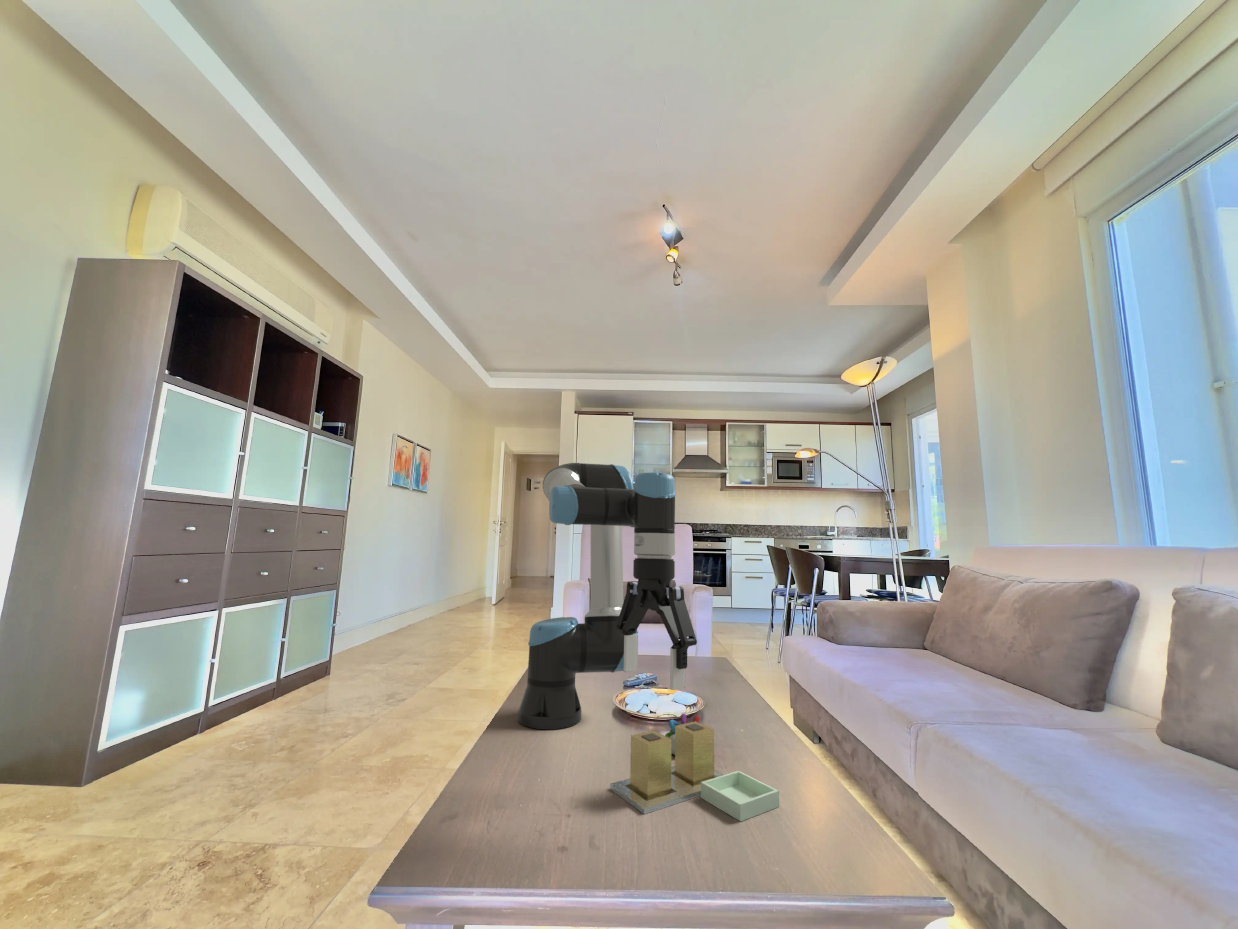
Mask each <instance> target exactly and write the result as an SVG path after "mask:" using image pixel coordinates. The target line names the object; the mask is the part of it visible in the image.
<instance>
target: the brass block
mask: <svg viewBox="0 0 1238 929" xmlns="http://www.w3.org/2000/svg"><path fill="white" fill-rule="evenodd" d="M671 767H672V753H671V739H670V738H668V737H666V736H665V735H663V733H662V734H661V733H660V732H657V731H656V730H651V731H645V732H641V733H636V734H631V735H630V768H629V769H630V773H629V774H630V775H629V776H630V777H629V779H630V790H632V791H633V792H635V793H636V794H637V795H639V796H640V797H642V798H643V799H644V800H646V801H648V800H651V799H655V798H658V797H661V796H664V795H668V794H671Z"/></svg>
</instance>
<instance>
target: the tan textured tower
mask: <svg viewBox="0 0 1238 929" xmlns="http://www.w3.org/2000/svg"><path fill="white" fill-rule="evenodd" d="M707 726H708V725H705V724H702V723H700V722H696V721H695V722H692V721H691V722H688V723H686V724H681V723H680V725H677V726H675V755H674V756H675V757H674V766H675V776H676V777H678V778H679V779H681V780H683V781H684V782H686V783H688V784H690V785H691V786H697V785H700V784H701V782H703V781H706V780H709V779H713V778H714V769H715V729H714V728H712V727H710V726H709V727H707Z"/></svg>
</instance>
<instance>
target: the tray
mask: <svg viewBox="0 0 1238 929" xmlns="http://www.w3.org/2000/svg"><path fill="white" fill-rule="evenodd" d="M700 799H702V800H704V801H706V802H707V803H709V804H711V805H713V806H714V807H716V808H717V809H719V810H721V812H724V813H726V814H727V815H729V816H731V817H732V818H734V819H736V820H737V821H739V822H743V821H746V820H748V819H751V818H754V817H757V816H758V815H761V814H764V813H767V812H770V811H773V810H774V809H778V808H779V807H780V790H779V789H776V788H774V787H772V786H770V785H768V784H766V783H764V782H762V781H760V780H758V779H756V778H754V777H752V776H750V775H748V774H746V773H744V772H742V771H740V770H735V771H733V772H730V773H729V772H728V773H727V774H724V775H722V776H719V777H716V778H713V779H709V780H706V781H703V782H701V796H700Z"/></svg>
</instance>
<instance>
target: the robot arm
mask: <svg viewBox="0 0 1238 929" xmlns="http://www.w3.org/2000/svg"><path fill="white" fill-rule="evenodd" d="M630 472H631V471H629V469H628V468H627V467H626V466H623V465H616V464H601V463H600V464H599V463H584V462H583V463H581V462H568V463H564V464H561V465H558V466H556V467H554V468H551V469H550V470H549V471H548V472H547V473H546V474H545V475H544V478H543V481H542V491H543V493H544V495H545V497H546V498H547V500H548V501H549V505H548V506H549V507H548V508H549V509H548V515H549V520H550V521H551V523H553V524H559V525H560V524H562V525H565V526H570V525H579V526H581V525H588V526H589V525H590V606H589V607H590V609H589V610H588V612H587V613H586V614H584V623H579V621H578V619H577V618H576V617H574V616H567V617H564V616H562V617H561V616H560V617H554V618H546V619H542V620H540V621H537V622H535V623H534V624H533V625H532V626H531V627H530V631H529V639H528V642H527V644H528V645H527V646H528V663H527V665H528V666H527V681H526V688H525V691H524V695H523V697H522V700H521V702H520V705H519V708H518V715H517V717H518V718H517V719H518V723H519V724H520V725H522V726H524V727H528V728H530V729H531V728H532V729H536V730H556V729H557V730H558V729H559V730H560V729H564V728H570V727H572V726H575V725H577V724H578V723H580V722H581V721H582V706H581V702H580V699H579V696H578V692H577V687H576V674H580V673H582V674H584V673H588V674H589V673H615V672H624V673H632V672H638V670H639V666H638V665H639V634H638V633H639V632H638V628H639V626H640V624H642V621H643V620H644V617H645V616H646V614H647V612H648V610H649V611H654V612H655V613H656V614H658V615H659V616H660V618H661V620H662V623H663V625H664V628H665V630H666V632H667V634H668V635H669V638H670V640H671V643H672V645H671V647H670V648H669V650H670V653H669V656H670V659H669V660H670V661H669V668H670V669H669V689H670V690H672V691H676V690H680V689H686V686H687V685H686V681H687V680H686V678H687V677H686V669H687V668H688V648H689V647H692V646H696V645H697V643H698V640H697V637H696V634H695V630H694V628H693V627H694V626H693V624H692V621H691V617H690V614H689V610H688V607H687V604H686V601H685V591H684V590H685V589H684V587H683V586H671V581H672V580H674V578H675V576H676V575H675V569H676V565H675V564H676V562H675V560H674V558H672V556H675V554H676V534H675V533H676V532H675V531H676V530H675V529H676V526H675V525H676V517H675V516H676V511H675V510H676V495H677V492H676V487H675V486H676V485H675V484H676V483H675V477H674V476H673V475H672V474H670V473H665V472H653V471H652V472H651V471H650V472H641V473H639V474H637V475H636V476H635V479H634V481H633V478H632V474H631V473H630ZM623 527H630V528H634V529H633V533H634V535H633V537H634V539H633V554H634V555H636V556H637V557H634V559H633V574H632V575H633V578H634V579H636V580H638V581H628V582H627V583H626V592H625V596H624V566H623V565H624V561H623V560H624V558H623V556H624V555H623V554H624V552H623Z"/></svg>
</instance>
